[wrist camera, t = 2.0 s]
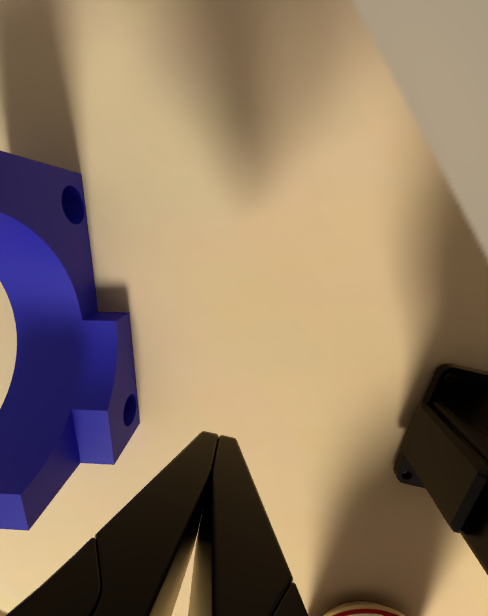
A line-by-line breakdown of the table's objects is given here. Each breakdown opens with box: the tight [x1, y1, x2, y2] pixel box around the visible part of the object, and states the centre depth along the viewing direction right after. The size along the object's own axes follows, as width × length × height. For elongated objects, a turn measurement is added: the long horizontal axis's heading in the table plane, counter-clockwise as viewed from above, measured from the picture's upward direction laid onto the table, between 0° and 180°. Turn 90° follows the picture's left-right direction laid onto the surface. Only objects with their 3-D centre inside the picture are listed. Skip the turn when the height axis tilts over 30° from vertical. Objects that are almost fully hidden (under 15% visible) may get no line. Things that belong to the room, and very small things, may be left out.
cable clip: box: [0, 151, 140, 530], centre depth 11 cm, size 12×4×6 cm, turn 179°
